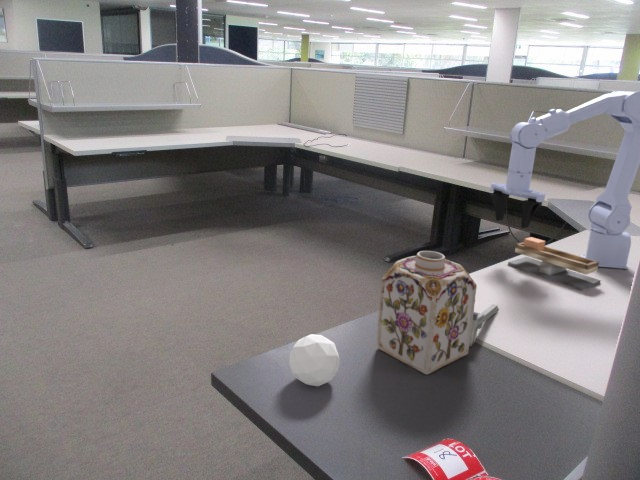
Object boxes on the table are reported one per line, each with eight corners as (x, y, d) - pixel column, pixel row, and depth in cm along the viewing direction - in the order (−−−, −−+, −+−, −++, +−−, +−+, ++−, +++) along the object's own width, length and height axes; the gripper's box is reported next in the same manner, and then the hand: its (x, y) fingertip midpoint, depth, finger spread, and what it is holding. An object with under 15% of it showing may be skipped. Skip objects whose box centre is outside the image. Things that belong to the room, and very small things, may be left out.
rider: (522, 248, 137) (524, 238, 136) (529, 246, 138) (531, 237, 138) (536, 252, 134) (538, 242, 133) (543, 250, 135) (545, 241, 135)
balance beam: (507, 264, 138) (510, 244, 136) (526, 259, 143) (529, 239, 141) (582, 290, 123) (586, 267, 121) (600, 283, 127) (604, 261, 126)
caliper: (471, 349, 95) (475, 317, 93) (465, 347, 96) (469, 315, 94) (498, 309, 112) (502, 281, 110) (493, 308, 112) (496, 280, 111)
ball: (326, 395, 84) (358, 364, 81) (291, 397, 79) (324, 364, 75) (305, 355, 89) (335, 325, 86) (271, 355, 83) (301, 322, 80)
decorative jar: (374, 348, 94) (380, 251, 88) (417, 330, 101) (425, 239, 96) (428, 377, 85) (438, 272, 80) (470, 355, 92) (483, 257, 87)
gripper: (486, 167, 137) (479, 218, 141) (536, 177, 126) (527, 232, 130) (503, 166, 141) (495, 215, 145) (553, 175, 130) (543, 229, 134)
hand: (511, 223), depth 138 cm, fingers open, 7 cm apart
